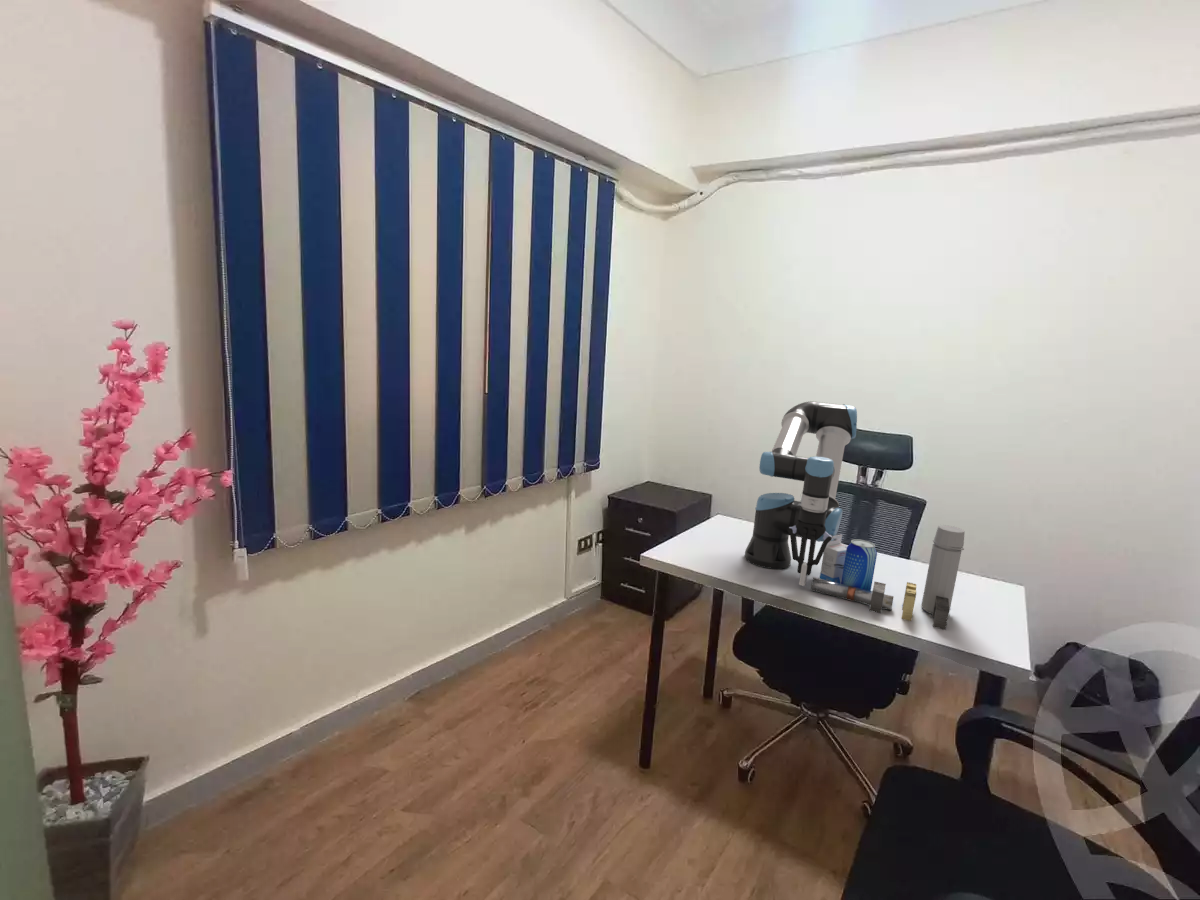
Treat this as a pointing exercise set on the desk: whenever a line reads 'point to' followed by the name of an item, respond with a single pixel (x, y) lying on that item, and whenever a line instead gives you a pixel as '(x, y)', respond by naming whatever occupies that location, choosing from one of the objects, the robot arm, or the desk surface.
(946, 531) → the water bottle
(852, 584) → the beer can
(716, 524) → the desk surface
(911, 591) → the aperture bridge
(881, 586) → the collar
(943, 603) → the collar
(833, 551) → the ink box
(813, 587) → the tube
